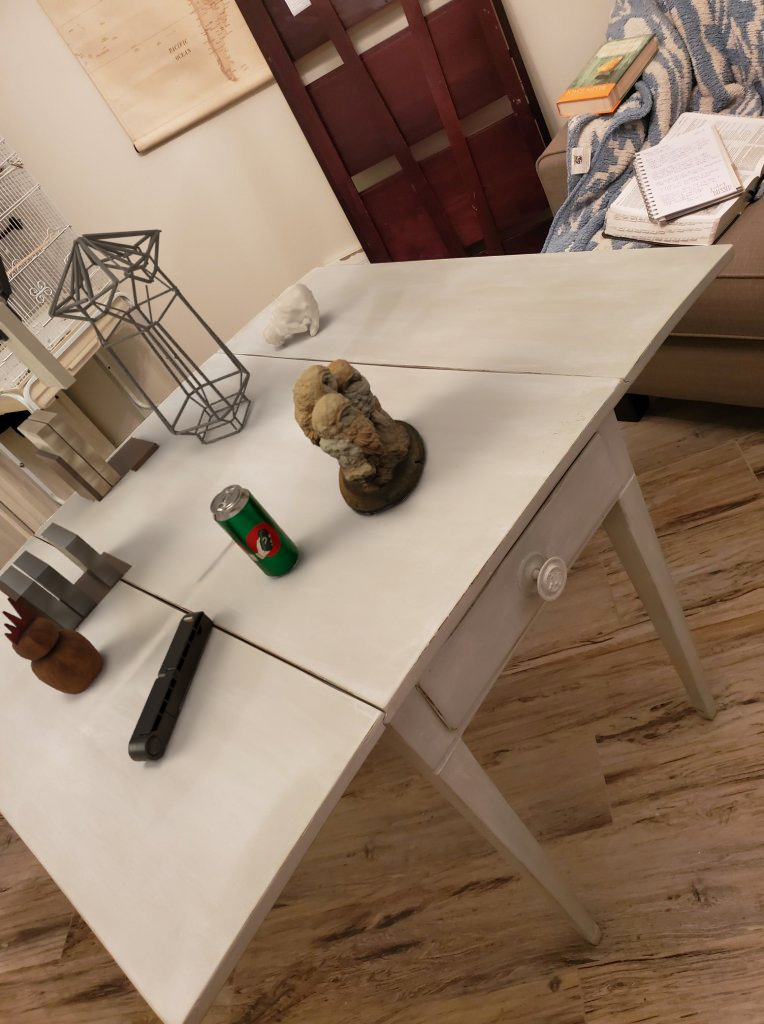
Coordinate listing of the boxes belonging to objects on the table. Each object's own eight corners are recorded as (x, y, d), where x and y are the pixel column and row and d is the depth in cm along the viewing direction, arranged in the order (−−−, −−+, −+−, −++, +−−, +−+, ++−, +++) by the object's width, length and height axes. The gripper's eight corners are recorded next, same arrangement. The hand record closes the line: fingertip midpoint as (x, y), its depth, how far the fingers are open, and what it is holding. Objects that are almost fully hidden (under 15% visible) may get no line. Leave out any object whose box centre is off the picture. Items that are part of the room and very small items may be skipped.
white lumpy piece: (300, 288, 120) (244, 325, 124) (330, 327, 125) (275, 361, 129) (301, 272, 125) (247, 309, 129) (329, 310, 130) (277, 344, 134)
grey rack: (71, 643, 98) (15, 602, 92) (45, 623, 105) (-9, 583, 99) (137, 569, 103) (87, 525, 97) (108, 555, 109) (60, 512, 103)
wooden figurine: (103, 648, 94) (14, 580, 85) (119, 666, 90) (27, 597, 80) (63, 689, 92) (-32, 625, 83) (78, 710, 88) (-21, 644, 78)
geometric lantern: (177, 466, 118) (12, 288, 97) (205, 405, 129) (62, 233, 107) (254, 440, 112) (96, 243, 90) (277, 379, 122) (140, 189, 101)
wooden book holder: (103, 505, 121) (32, 438, 112) (81, 496, 128) (11, 432, 118) (159, 446, 126) (95, 377, 117) (134, 440, 133) (72, 374, 123)
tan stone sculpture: (436, 496, 83) (366, 384, 72) (346, 537, 85) (267, 434, 75) (416, 410, 96) (355, 306, 86) (339, 447, 99) (271, 350, 89)
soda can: (307, 544, 88) (251, 478, 81) (293, 578, 85) (233, 513, 78) (274, 548, 91) (218, 484, 83) (260, 581, 88) (200, 518, 80)
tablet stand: (159, 765, 75) (140, 753, 73) (141, 766, 76) (122, 753, 74) (215, 621, 87) (200, 607, 85) (199, 623, 88) (184, 609, 86)
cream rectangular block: (66, 389, 112) (-10, 311, 103) (45, 386, 119) (-28, 312, 110) (76, 380, 113) (2, 301, 104) (55, 377, 120) (-17, 303, 110)
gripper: (-52, 207, 104) (37, 305, 115) (-131, 266, 99) (-30, 363, 110) (-38, 201, 99) (55, 304, 110) (-120, 263, 94) (-15, 365, 105)
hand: (12, 333), depth 110 cm, fingers closed on cream rectangular block, 2 cm apart
